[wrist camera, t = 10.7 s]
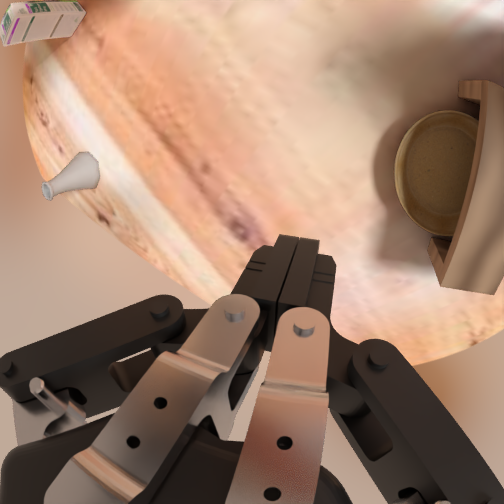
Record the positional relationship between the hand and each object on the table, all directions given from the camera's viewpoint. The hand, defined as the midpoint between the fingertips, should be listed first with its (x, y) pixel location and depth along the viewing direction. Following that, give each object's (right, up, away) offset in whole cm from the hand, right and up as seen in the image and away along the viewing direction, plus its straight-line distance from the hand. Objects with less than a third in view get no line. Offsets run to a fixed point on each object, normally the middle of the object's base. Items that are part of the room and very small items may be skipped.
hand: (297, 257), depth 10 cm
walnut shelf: (+25, +9, +13) cm, 29 cm away
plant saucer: (+21, +10, +15) cm, 27 cm away
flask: (-31, +15, +31) cm, 46 cm away
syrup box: (-32, +40, +15) cm, 54 cm away
